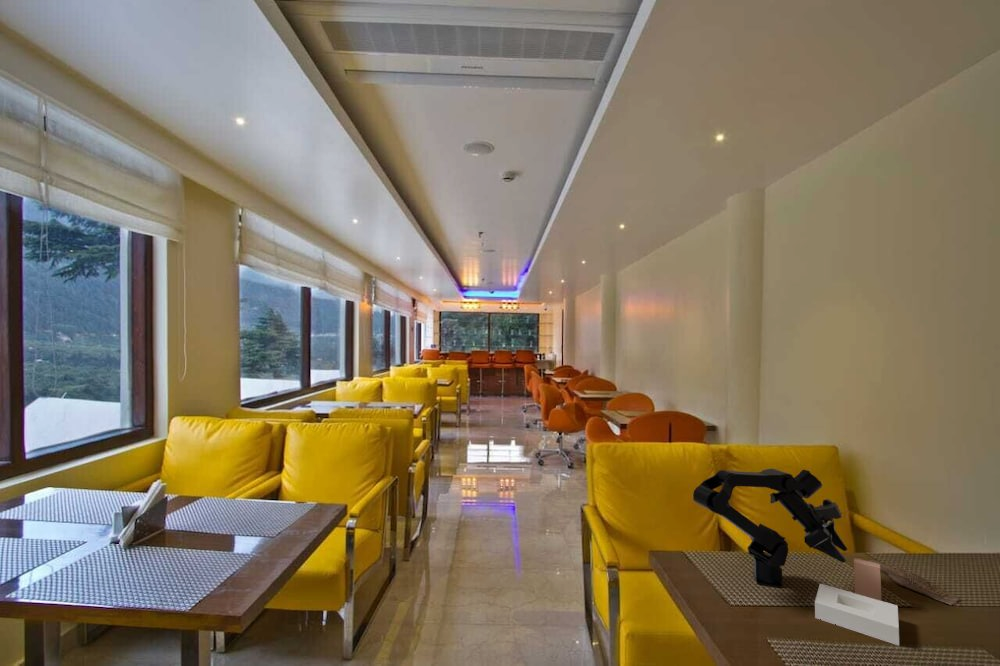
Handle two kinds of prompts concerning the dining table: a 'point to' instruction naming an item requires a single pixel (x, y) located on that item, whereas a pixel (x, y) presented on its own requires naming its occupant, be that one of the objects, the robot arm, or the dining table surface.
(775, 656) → the dining table surface
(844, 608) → the white slotted block
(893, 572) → the wooden fragment
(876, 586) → the pink rectangular block
